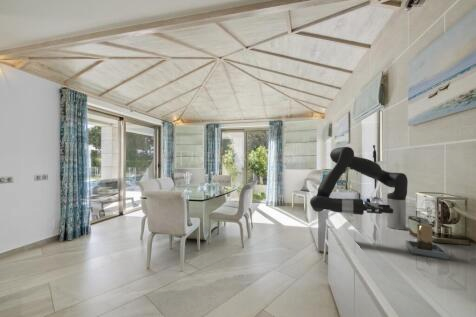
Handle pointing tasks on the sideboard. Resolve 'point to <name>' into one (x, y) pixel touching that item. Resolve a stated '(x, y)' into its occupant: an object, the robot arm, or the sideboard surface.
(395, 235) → the sideboard surface
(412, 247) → the tray
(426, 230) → the bronze can
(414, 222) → the food container
